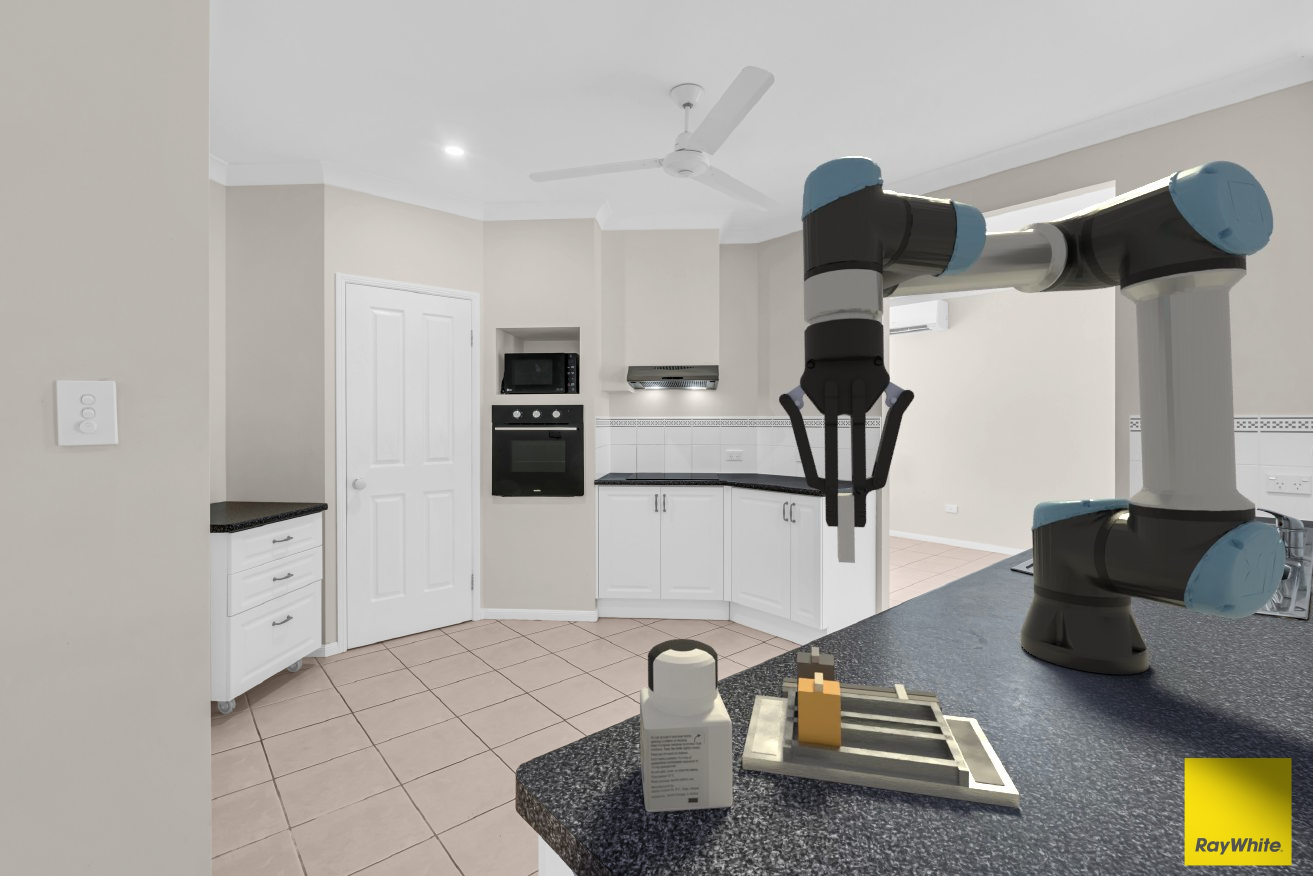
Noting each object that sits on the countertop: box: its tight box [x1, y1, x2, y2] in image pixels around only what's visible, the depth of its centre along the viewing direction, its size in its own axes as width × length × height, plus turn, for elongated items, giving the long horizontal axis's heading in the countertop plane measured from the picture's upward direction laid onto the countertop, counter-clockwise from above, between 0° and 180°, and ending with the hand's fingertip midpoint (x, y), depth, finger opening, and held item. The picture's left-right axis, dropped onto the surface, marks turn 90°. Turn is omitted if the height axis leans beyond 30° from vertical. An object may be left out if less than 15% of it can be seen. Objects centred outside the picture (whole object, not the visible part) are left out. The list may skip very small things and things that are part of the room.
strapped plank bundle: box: [781, 677, 943, 713], centre depth 70 cm, size 18×5×2 cm, turn 75°
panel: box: [742, 687, 1020, 809], centre depth 60 cm, size 24×14×3 cm, turn 75°
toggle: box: [796, 646, 836, 706], centre depth 65 cm, size 4×3×7 cm
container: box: [639, 638, 733, 813], centre depth 54 cm, size 8×8×13 cm
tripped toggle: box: [798, 672, 841, 746], centre depth 58 cm, size 4×3×7 cm
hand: (846, 559), depth 57 cm, fingers closed
